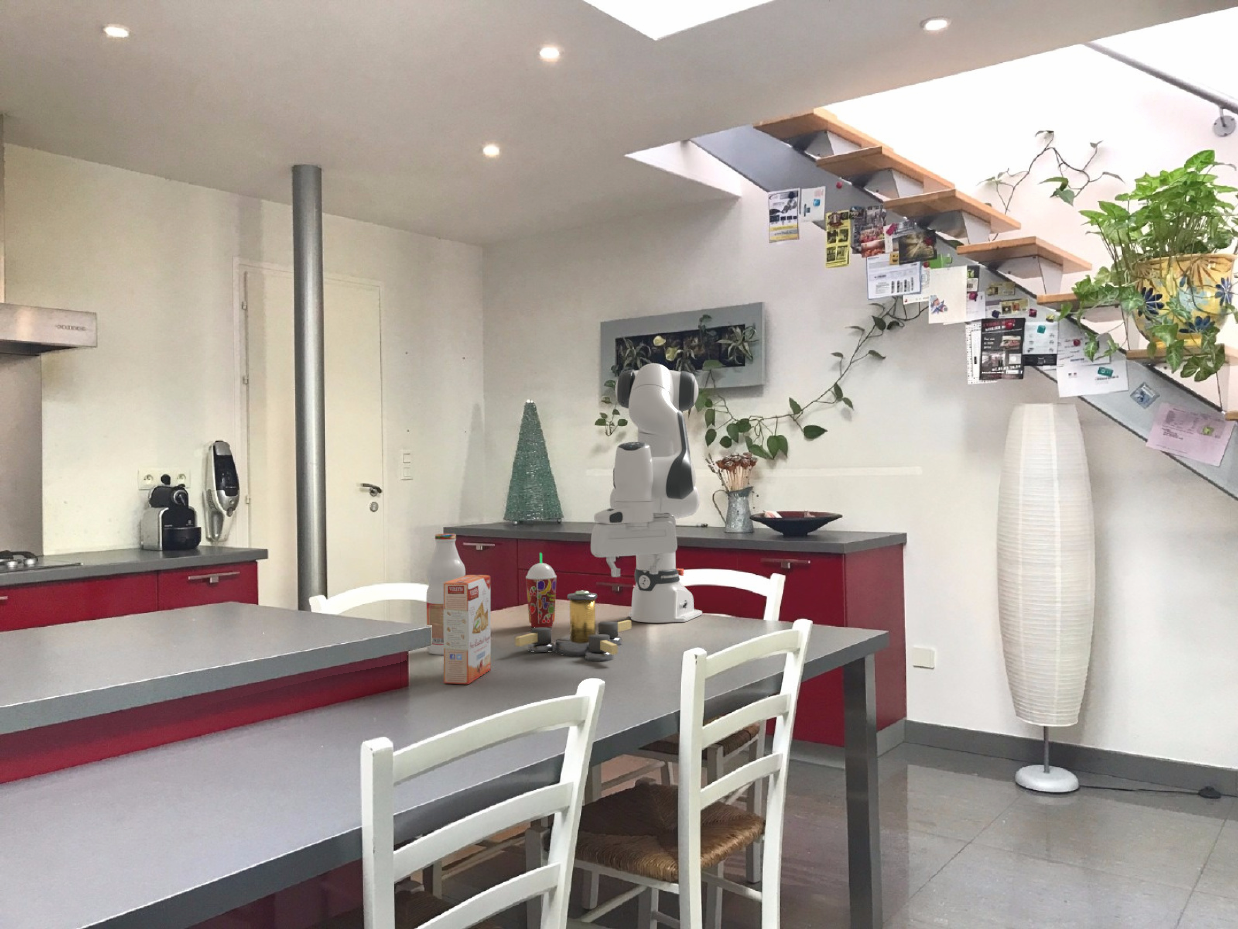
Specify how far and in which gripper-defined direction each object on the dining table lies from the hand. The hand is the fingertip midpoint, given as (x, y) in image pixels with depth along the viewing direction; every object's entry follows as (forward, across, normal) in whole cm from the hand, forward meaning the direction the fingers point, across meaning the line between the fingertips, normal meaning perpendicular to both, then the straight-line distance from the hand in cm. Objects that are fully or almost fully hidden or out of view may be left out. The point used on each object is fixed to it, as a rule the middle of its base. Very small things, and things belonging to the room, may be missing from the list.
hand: (635, 575), depth 223 cm
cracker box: (+19, +39, 0) cm, 43 cm away
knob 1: (+17, +18, -18) cm, 31 cm away
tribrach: (+19, +5, -16) cm, 25 cm away
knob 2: (+17, +7, -2) cm, 19 cm away
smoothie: (+19, +5, -51) cm, 55 cm away
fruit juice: (+19, +36, -29) cm, 50 cm away
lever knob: (+17, -4, -22) cm, 28 cm away
